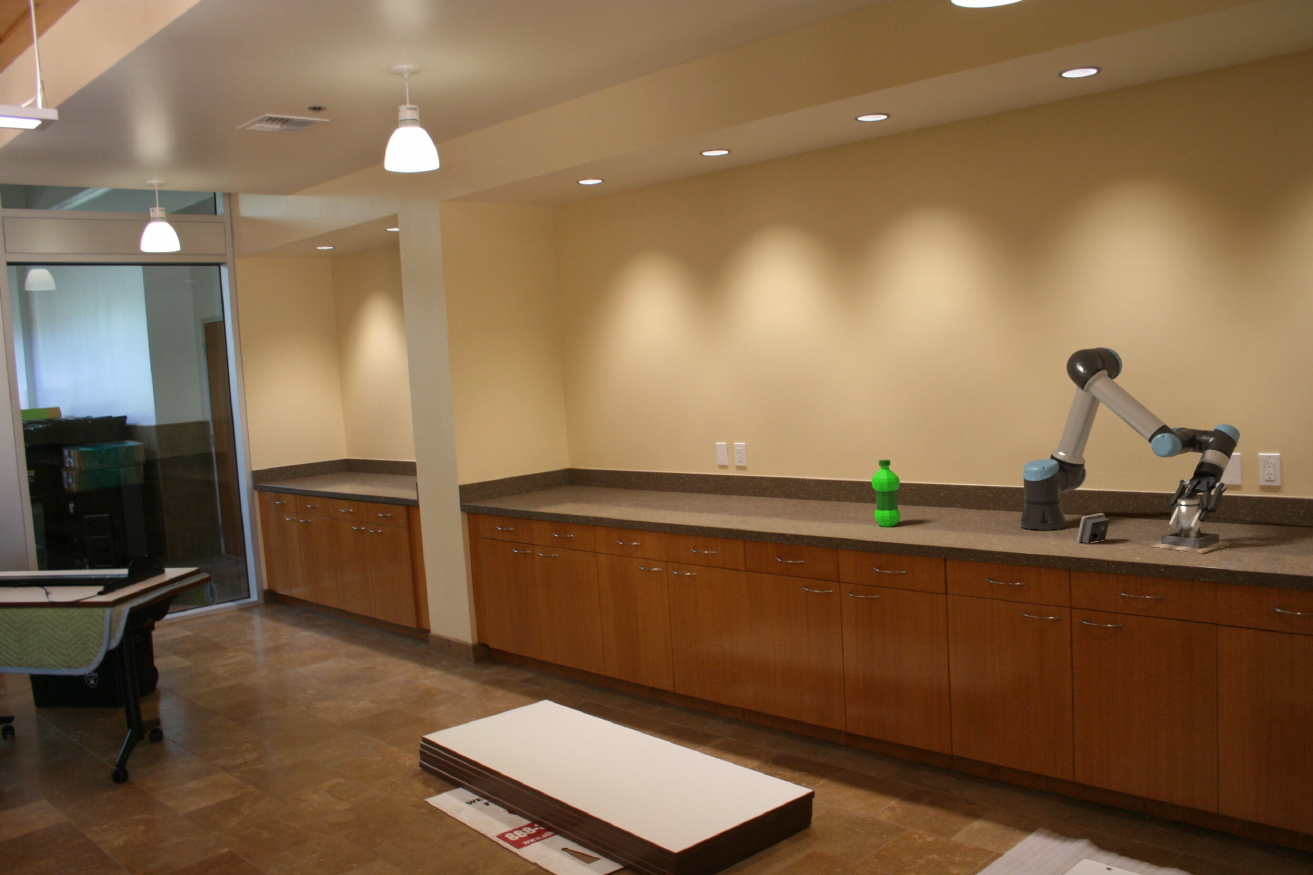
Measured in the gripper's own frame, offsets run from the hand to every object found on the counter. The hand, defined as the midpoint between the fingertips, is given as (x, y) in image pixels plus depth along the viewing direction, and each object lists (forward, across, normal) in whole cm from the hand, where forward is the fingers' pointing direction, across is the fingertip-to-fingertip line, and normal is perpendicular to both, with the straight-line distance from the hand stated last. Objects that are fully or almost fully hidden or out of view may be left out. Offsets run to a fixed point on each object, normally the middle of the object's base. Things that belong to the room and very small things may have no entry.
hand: (1182, 527), depth 292 cm
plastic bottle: (+23, +99, +13) cm, 102 cm away
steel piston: (0, 0, -5) cm, 5 cm away
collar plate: (+2, 0, -7) cm, 7 cm away
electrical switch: (+10, +25, 0) cm, 27 cm away
